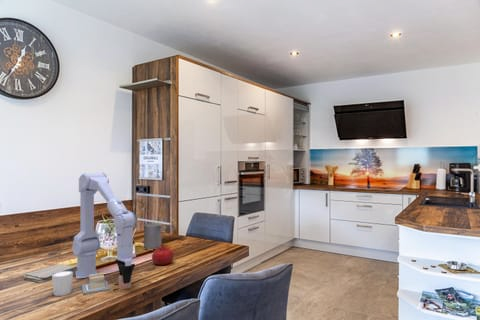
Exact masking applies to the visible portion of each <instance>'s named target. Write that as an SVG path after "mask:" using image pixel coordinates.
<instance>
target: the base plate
mask: <svg viewBox="0 0 480 320" xmlns="http://www.w3.org/2000/svg"><path fill="white" fill-rule="evenodd" d="M81 289H82V295H83V296H86V295H90V294H96V293H101V292H107V291H111V287H110V284H109V282H108V280H104V287H102V288H97V289H91V290H90V288H89V282H88V283H81Z"/></svg>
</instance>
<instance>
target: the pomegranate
mask: <svg viewBox="0 0 480 320" xmlns="http://www.w3.org/2000/svg"><path fill="white" fill-rule="evenodd" d="M156 248H159V249H157V250H153V253H152V255H151V259H152V263H153V265H157V266H165V265H169V264H171V262H173V259H174V251H173V250H172V249H171V248H170V247H169V246H168V245H167V246H165V247H164V244H163V243H162V244H161V248H160V247H156Z"/></svg>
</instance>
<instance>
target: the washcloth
mask: <svg viewBox="0 0 480 320" xmlns="http://www.w3.org/2000/svg"><path fill="white" fill-rule="evenodd" d="M76 270H77V265H68V264H62V263H58V264H55V265H52V266H48V267H44V268H40V269H38V270H35V271H34V270H33V271H31V272H27V273H25V274H24V275H23V277H24V278H23V280H25V281H26V282H27V281H28V282H32V283H36V284H41V283H46V282H50V281H52V275H53V274H55V273H58V272H62V271H72V272H73V274H75V273H76Z"/></svg>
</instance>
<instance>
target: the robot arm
mask: <svg viewBox="0 0 480 320" xmlns="http://www.w3.org/2000/svg"><path fill="white" fill-rule="evenodd" d="M109 183H110V180H109V177H108V175H107V174H106V173H105V172H95V173H94V172H93V173H92V172H89V173H86V172H84V173H82V174H81V175H80V176H79V178H78V192H79V193H80V196H79V197H80V198H79V199H80V202H79V205H80V207H79V208H80V213H79V214H80V217H79V218H80V225H79V226H80V229H79V230H80V231H79V232H78V233H77V234H76V235H75V236H73V243H72V246H71V248H72V252H73V254H74V255H75V256H77V258H76V259H77V260H76V266H77V271H76V272H75V278H76V280H79V279H85V278H86V279H87V278H89V275H92V274H98V272H97V266H96V265H97V259H96V258H97V254H98V251H99V250H100V249H101V240H100V234H99V233H97V232H96V231H95V213H94V212H95V194H96V193H97V192H99V194H100V195H101V196H102V197H103V199H104V200H105V201H106V203H107V205H106V208H107V209H108V211H109V213H110V215H111V216H112V218H113V219H114V220H113V226H114V229H115V233H116V259H115V262H116V264H117V267H118V272H119V276H120V275H122V277H123V282H124V284H126V283H130V280H131V281H132V275H133V271H134V269H135V268H136V264H135V263H132V260H133V259H134V258H136V257H137V254H136V253H133V252H134V251H133V250H134V244H133V242H134V241H133V240H134V237H133V235H134V234H133V231H134V230H133V228H134V227H135V225H136V224H137V218H136V215H135V213H133V212H132V211H130V210H128V209H127V207H126V205H124V203H123V201H122V200H121V199H120V198H116V196H115V194H114V192H113V190H112V188H111V186H110V185H109Z"/></svg>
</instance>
